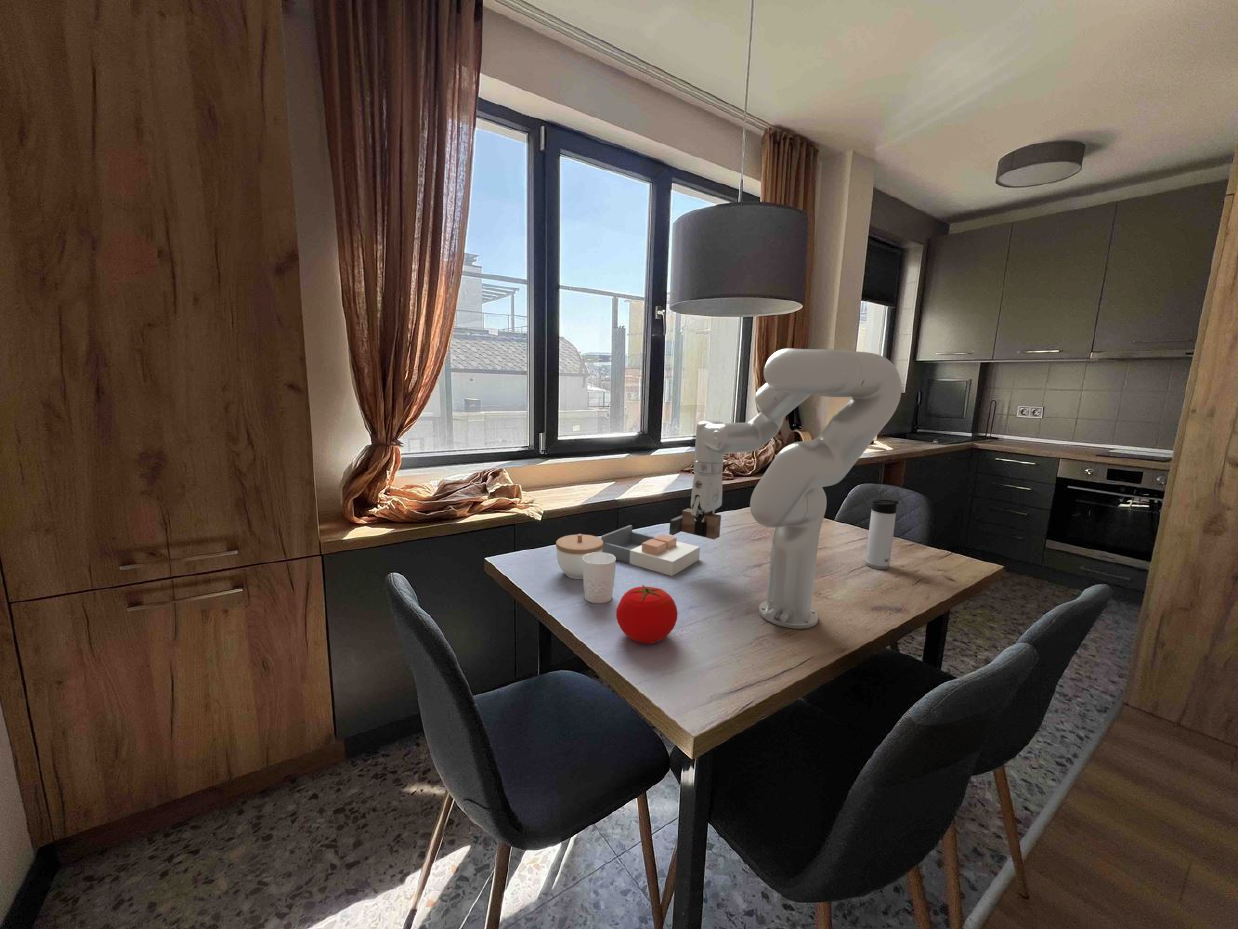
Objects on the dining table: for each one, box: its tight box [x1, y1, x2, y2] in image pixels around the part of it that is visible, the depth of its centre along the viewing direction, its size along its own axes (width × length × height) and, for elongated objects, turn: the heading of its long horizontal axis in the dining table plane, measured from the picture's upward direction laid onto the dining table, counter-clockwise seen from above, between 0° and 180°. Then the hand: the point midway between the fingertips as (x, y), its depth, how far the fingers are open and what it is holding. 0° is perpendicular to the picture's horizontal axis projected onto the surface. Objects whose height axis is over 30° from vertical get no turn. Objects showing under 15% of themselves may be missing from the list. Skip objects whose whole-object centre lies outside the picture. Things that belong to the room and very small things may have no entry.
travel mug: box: [864, 499, 900, 570], centre depth 140 cm, size 6×7×20 cm
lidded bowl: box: [555, 533, 603, 580], centre depth 129 cm, size 13×13×11 cm
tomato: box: [615, 584, 678, 644], centre depth 98 cm, size 11×12×10 cm
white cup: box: [582, 552, 617, 604], centre depth 115 cm, size 8×8×10 cm
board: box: [629, 541, 701, 577], centre depth 140 cm, size 16×14×4 cm
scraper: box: [668, 507, 722, 540], centre depth 132 cm, size 12×11×6 cm
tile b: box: [653, 533, 678, 550], centre depth 142 cm, size 5×5×2 cm
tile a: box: [642, 539, 666, 555], centre depth 138 cm, size 5×5×2 cm
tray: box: [600, 524, 656, 565], centre depth 147 cm, size 15×10×6 cm
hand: (703, 533), depth 131 cm, fingers closed on scraper, 3 cm apart
